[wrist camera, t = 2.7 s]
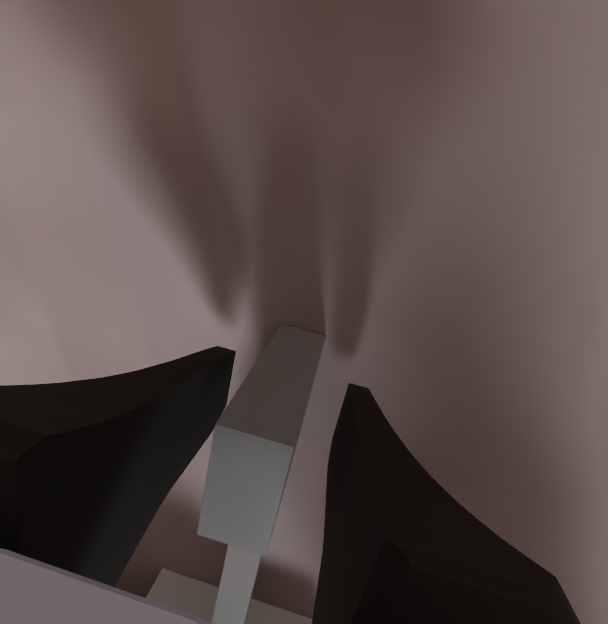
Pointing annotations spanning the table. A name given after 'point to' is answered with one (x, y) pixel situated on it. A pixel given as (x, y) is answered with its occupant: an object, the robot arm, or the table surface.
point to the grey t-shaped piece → (249, 483)
